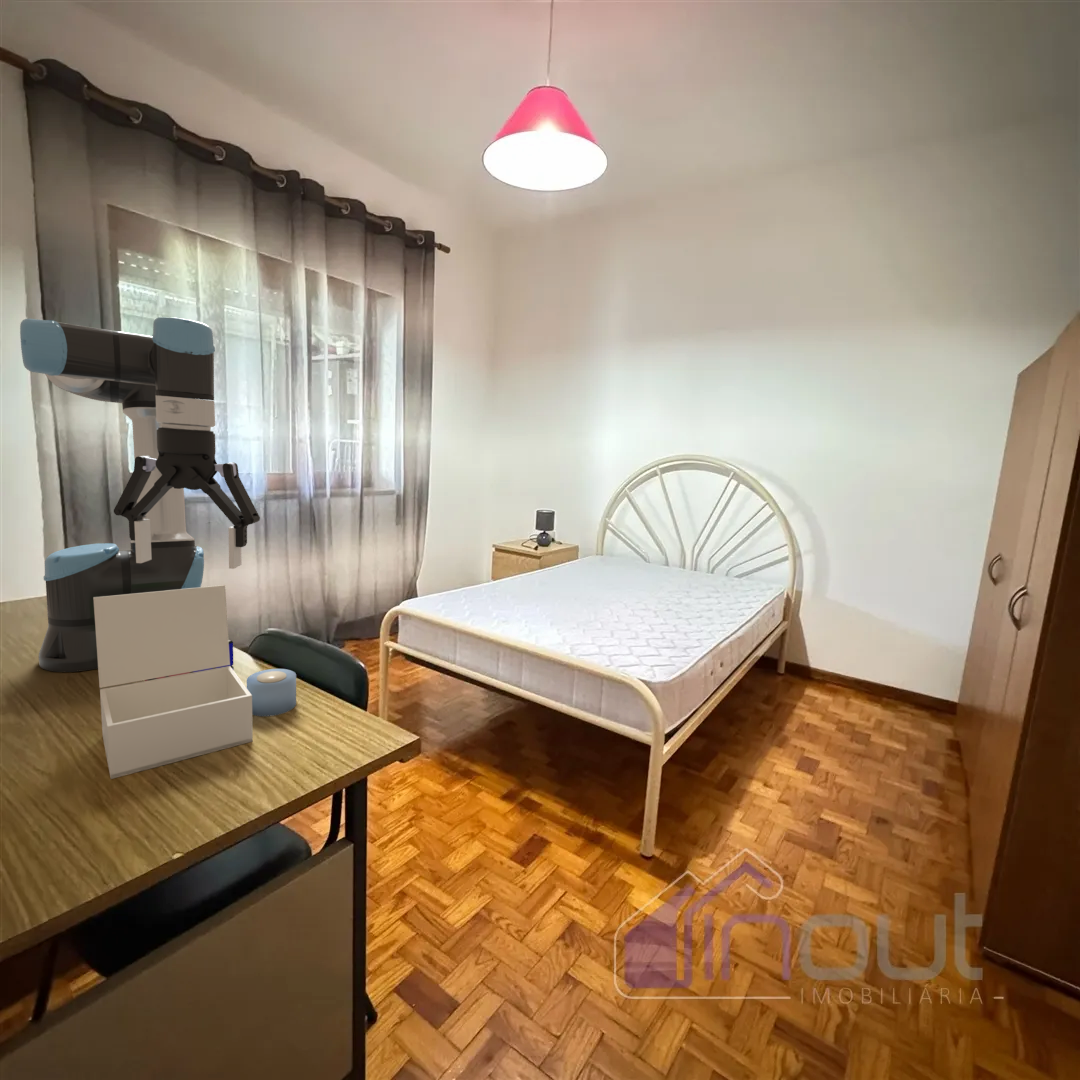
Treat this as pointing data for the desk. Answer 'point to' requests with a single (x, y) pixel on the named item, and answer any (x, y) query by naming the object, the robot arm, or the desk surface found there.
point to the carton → (174, 719)
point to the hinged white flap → (160, 633)
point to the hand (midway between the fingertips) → (190, 564)
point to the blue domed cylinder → (272, 691)
